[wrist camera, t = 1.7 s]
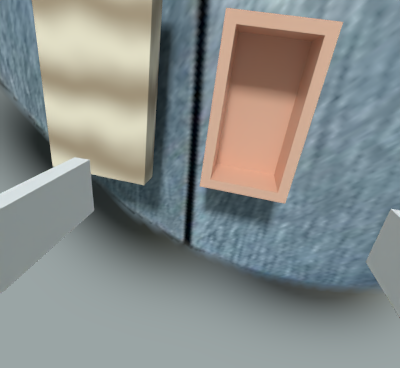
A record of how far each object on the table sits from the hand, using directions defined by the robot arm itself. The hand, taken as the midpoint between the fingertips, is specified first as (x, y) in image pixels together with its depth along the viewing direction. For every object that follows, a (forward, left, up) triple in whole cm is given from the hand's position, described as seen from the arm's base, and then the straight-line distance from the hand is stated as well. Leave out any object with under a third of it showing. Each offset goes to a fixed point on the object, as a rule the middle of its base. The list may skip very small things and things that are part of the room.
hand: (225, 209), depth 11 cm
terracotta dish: (-2, +1, -20) cm, 20 cm away
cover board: (-3, -15, -16) cm, 22 cm away
